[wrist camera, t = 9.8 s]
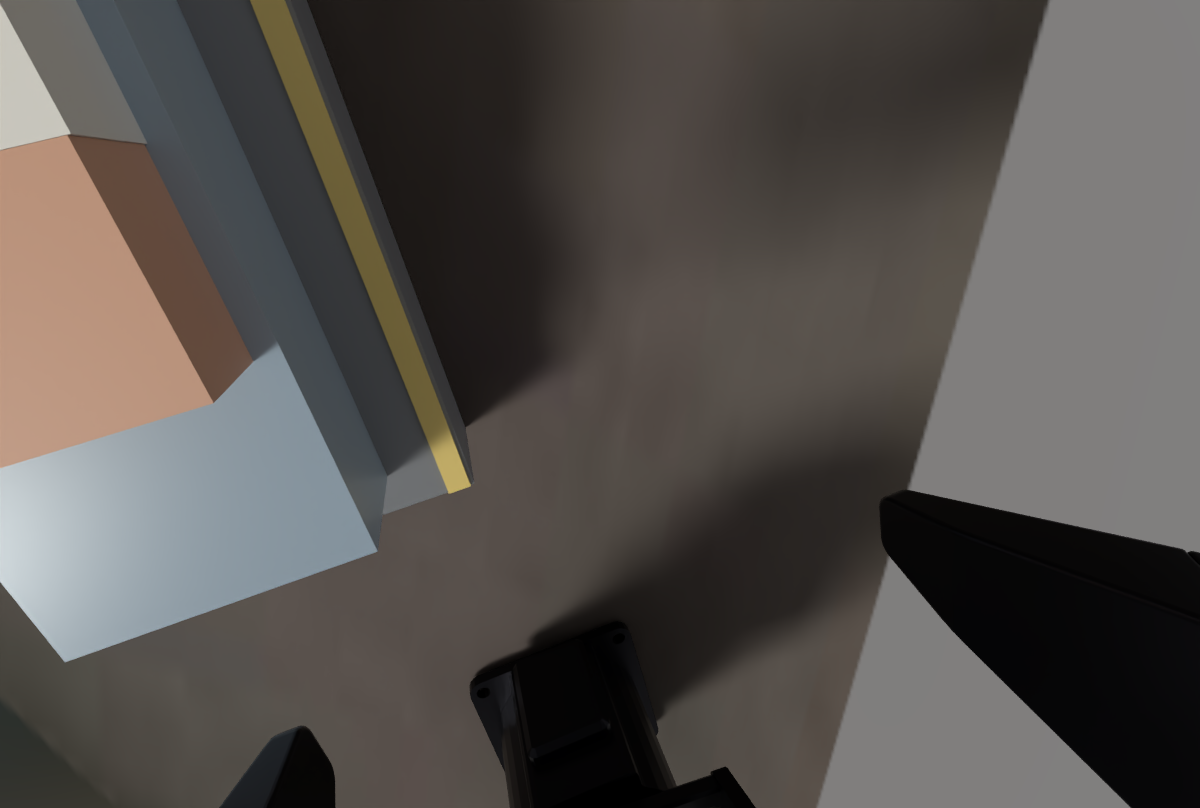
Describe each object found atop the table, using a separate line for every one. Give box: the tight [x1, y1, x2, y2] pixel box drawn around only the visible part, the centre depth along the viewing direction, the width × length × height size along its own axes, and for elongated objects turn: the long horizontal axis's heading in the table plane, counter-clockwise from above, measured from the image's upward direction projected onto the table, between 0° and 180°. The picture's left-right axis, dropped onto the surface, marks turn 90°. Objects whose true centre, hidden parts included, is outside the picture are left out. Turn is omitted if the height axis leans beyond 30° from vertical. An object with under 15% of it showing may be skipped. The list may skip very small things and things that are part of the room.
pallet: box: [0, 0, 387, 662], centre depth 10 cm, size 16×6×4 cm, turn 14°
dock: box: [177, 0, 474, 515], centre depth 14 cm, size 18×10×4 cm, turn 14°
